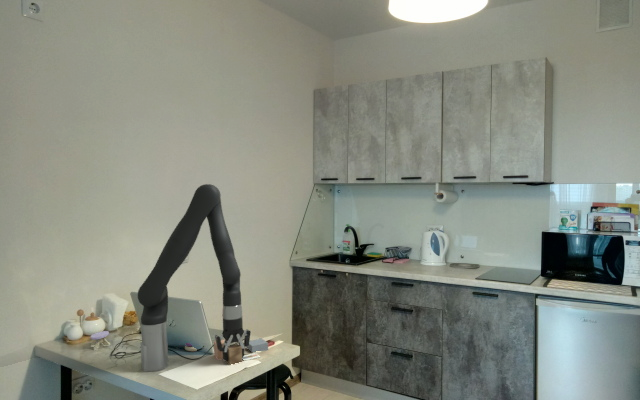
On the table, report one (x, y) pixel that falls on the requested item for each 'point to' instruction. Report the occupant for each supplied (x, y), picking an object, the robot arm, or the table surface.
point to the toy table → (100, 338)
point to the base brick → (257, 345)
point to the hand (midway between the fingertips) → (233, 359)
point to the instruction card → (250, 356)
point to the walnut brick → (234, 354)
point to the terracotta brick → (218, 353)
